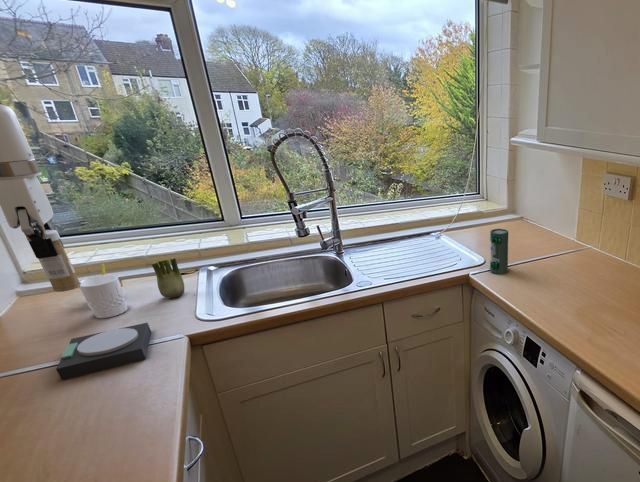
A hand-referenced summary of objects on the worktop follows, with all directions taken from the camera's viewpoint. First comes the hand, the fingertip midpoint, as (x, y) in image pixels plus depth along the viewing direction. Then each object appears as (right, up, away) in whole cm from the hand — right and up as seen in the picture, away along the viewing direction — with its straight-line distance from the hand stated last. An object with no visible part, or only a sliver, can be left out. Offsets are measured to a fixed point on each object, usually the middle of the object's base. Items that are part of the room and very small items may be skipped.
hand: (50, 252), depth 89 cm
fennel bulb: (-1, -12, +35) cm, 37 cm away
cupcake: (-18, -13, +31) cm, 38 cm away
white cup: (-11, -16, +25) cm, 31 cm away
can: (+97, -4, +58) cm, 113 cm away
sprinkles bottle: (0, -8, +4) cm, 9 cm away
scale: (+6, -24, +7) cm, 26 cm away
